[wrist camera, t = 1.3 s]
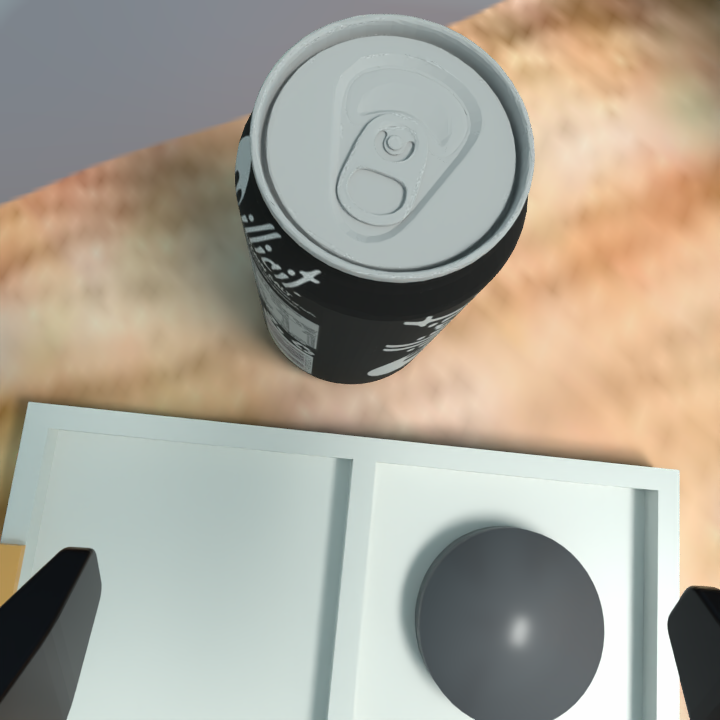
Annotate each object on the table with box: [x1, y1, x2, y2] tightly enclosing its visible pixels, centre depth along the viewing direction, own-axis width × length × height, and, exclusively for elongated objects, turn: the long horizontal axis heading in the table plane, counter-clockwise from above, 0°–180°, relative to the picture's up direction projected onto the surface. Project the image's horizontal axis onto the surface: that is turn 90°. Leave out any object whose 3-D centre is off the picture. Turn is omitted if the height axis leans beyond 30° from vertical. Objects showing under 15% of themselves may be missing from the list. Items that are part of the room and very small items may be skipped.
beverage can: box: [235, 14, 535, 384], centre depth 18 cm, size 7×7×12 cm
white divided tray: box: [0, 402, 679, 720], centre depth 21 cm, size 12×23×2 cm, turn 84°
